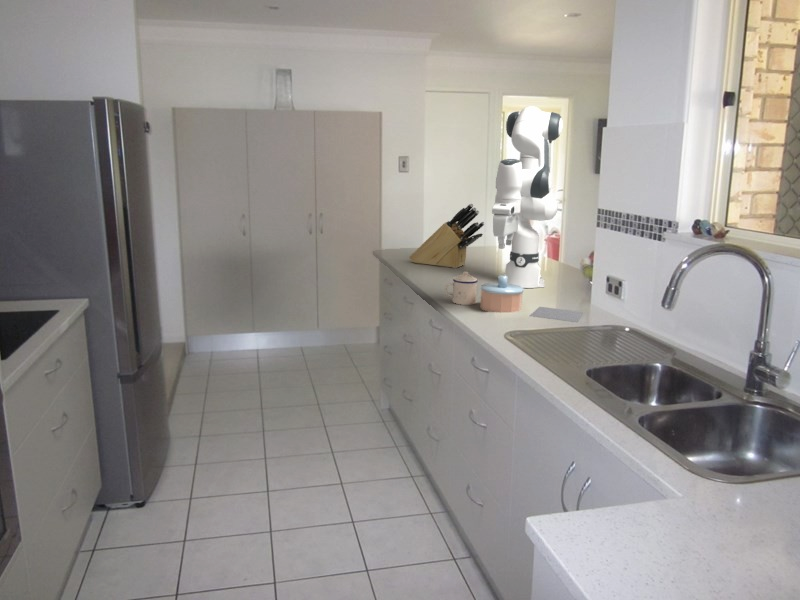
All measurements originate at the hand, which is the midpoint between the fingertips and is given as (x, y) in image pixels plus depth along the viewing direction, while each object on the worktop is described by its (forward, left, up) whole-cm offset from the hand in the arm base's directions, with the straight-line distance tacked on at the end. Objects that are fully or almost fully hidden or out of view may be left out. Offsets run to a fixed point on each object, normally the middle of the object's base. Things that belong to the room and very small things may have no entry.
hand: (505, 246), depth 227 cm
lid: (0, 0, -16) cm, 16 cm away
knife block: (-76, -49, -23) cm, 93 cm away
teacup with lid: (-2, -16, -23) cm, 28 cm away
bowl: (0, 0, -23) cm, 23 cm away
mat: (-1, +20, -23) cm, 30 cm away
